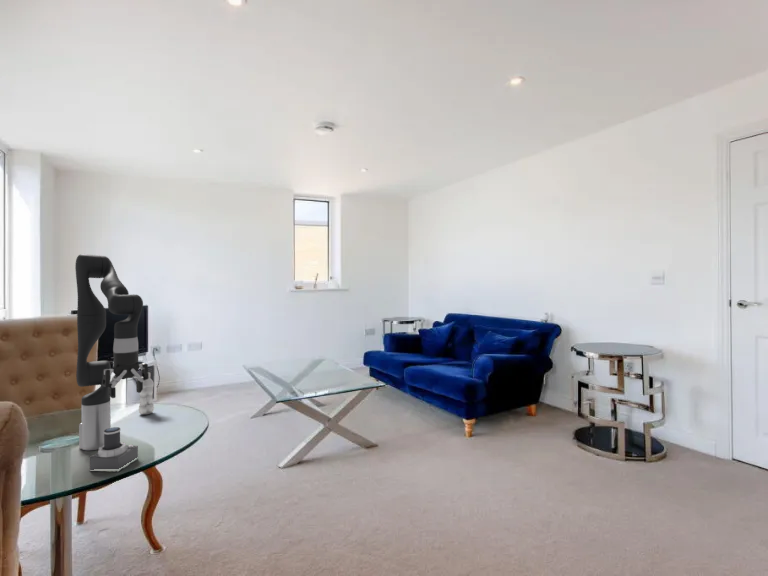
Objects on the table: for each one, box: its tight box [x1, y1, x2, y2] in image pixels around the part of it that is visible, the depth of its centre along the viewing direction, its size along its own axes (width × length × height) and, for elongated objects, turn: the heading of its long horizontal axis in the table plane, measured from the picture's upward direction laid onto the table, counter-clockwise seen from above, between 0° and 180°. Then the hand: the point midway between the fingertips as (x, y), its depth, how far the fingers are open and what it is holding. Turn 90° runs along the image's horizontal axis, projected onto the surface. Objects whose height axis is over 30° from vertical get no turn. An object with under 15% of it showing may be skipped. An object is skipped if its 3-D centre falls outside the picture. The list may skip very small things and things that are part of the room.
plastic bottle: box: [138, 371, 155, 416], centre depth 195 cm, size 6×7×20 cm
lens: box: [104, 426, 121, 450], centre depth 140 cm, size 5×5×8 cm
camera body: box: [89, 441, 139, 471], centre depth 141 cm, size 10×10×7 cm
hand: (126, 394), depth 144 cm, fingers open, 8 cm apart
